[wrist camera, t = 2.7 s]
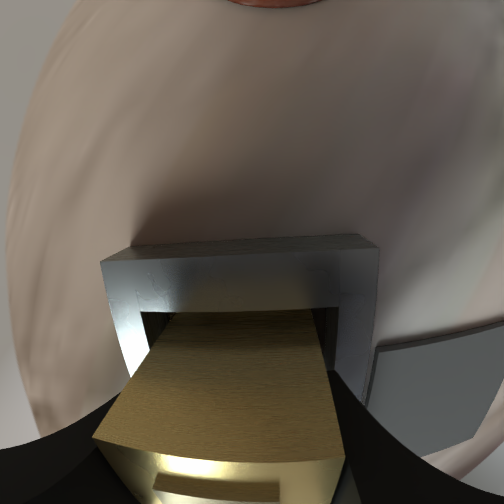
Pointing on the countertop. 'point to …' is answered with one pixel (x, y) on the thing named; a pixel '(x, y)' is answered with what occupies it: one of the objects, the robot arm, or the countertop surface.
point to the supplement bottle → (274, 3)
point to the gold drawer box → (228, 414)
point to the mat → (437, 387)
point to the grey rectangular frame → (249, 290)
